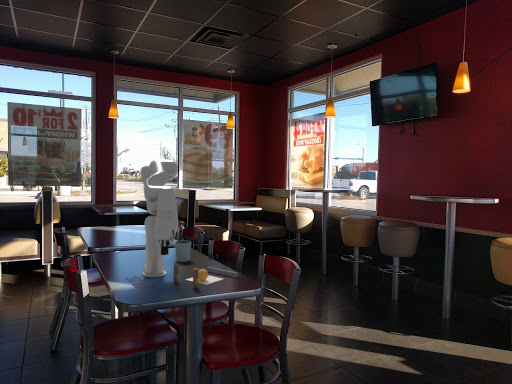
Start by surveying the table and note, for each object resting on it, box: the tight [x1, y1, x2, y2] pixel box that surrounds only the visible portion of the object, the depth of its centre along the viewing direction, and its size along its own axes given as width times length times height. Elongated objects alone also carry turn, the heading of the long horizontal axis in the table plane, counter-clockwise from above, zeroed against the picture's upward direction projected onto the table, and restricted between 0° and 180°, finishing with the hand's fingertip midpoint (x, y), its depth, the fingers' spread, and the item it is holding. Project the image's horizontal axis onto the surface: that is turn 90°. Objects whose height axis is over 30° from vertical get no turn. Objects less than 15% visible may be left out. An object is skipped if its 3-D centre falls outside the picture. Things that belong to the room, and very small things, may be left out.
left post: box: [173, 263, 180, 285], centre depth 191 cm, size 3×3×9 cm
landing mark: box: [185, 274, 224, 285], centre depth 200 cm, size 14×14×1 cm
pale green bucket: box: [174, 240, 192, 263], centre depth 243 cm, size 10×10×12 cm
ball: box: [198, 268, 209, 281], centre depth 197 cm, size 6×6×6 cm
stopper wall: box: [206, 266, 239, 279], centre depth 211 cm, size 20×2×2 cm, turn 56°
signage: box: [124, 275, 162, 293], centre depth 189 cm, size 28×1×10 cm
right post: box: [192, 268, 200, 289], centre depth 184 cm, size 3×3×9 cm
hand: (164, 254), depth 176 cm, fingers closed
